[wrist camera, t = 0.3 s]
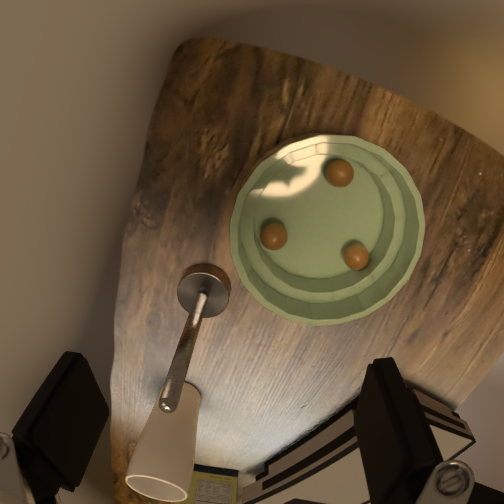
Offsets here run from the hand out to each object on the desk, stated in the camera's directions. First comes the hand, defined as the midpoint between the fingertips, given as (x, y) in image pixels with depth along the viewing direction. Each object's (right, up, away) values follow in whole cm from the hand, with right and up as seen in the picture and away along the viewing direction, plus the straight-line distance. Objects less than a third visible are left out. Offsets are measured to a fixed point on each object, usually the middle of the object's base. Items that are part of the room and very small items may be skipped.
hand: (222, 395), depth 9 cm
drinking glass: (-8, -14, +29) cm, 33 cm away
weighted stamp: (-4, +1, +22) cm, 23 cm away
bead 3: (+10, +4, +19) cm, 22 cm away
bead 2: (+8, +11, +16) cm, 21 cm away
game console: (+17, -27, +33) cm, 46 cm away
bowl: (+7, +8, +19) cm, 22 cm away
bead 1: (+3, +6, +18) cm, 19 cm away
